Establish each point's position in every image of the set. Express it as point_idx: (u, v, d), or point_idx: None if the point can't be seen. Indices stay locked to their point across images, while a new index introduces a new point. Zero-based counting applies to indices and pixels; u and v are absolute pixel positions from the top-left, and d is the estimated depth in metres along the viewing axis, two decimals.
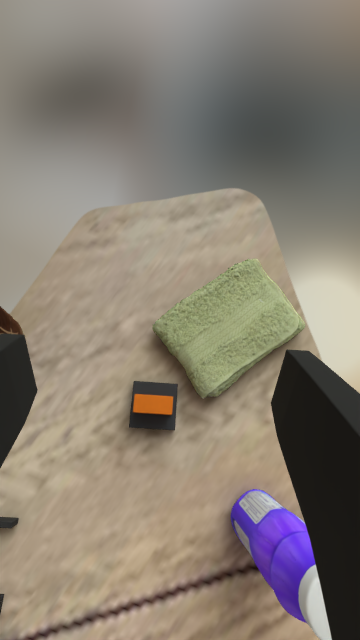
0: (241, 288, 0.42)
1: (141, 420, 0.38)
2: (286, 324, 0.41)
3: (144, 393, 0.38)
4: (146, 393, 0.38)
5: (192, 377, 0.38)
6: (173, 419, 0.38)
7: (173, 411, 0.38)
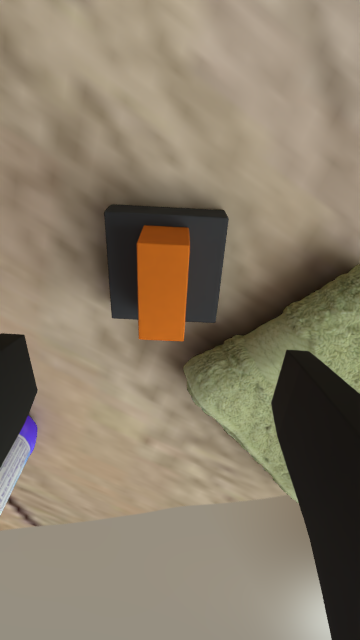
0: None
1: (123, 243, 0.14)
2: None
3: (194, 248, 0.14)
4: (194, 253, 0.15)
5: (230, 361, 0.17)
6: (134, 316, 0.16)
7: None
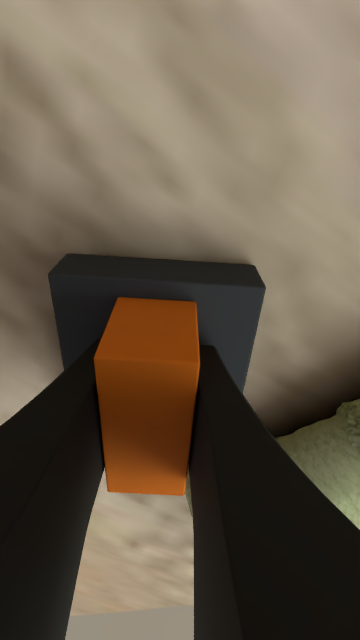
0: None
1: (85, 323, 0.08)
2: None
3: (204, 332, 0.09)
4: (204, 339, 0.09)
5: None
6: None
7: None
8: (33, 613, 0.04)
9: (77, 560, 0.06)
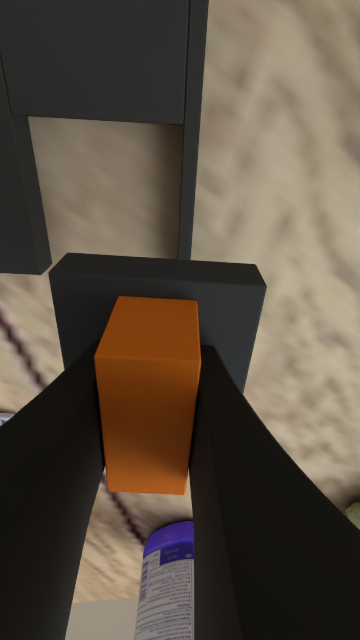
0: None
1: (85, 322, 0.08)
2: None
3: (205, 331, 0.08)
4: (204, 339, 0.09)
5: None
6: None
7: None
8: (33, 613, 0.04)
9: (77, 560, 0.06)
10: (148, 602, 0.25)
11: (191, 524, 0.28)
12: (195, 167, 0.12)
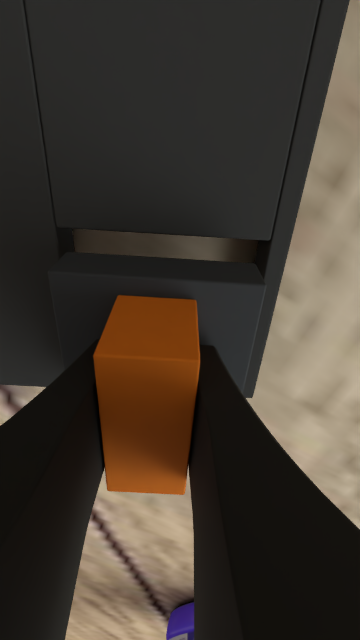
0: None
1: (85, 321, 0.08)
2: None
3: (204, 330, 0.08)
4: (204, 338, 0.09)
5: None
6: None
7: None
8: (33, 613, 0.04)
9: (77, 560, 0.06)
10: None
11: None
12: (278, 285, 0.10)
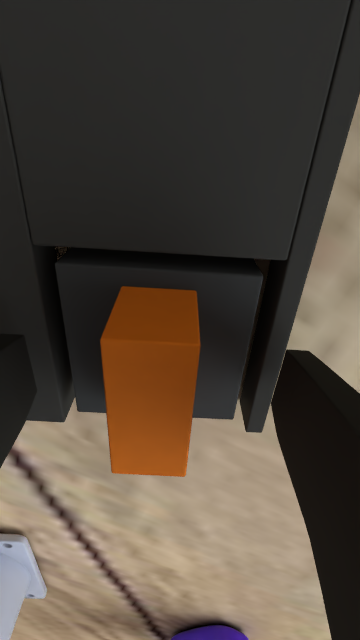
0: None
1: (90, 312, 0.09)
2: None
3: (204, 320, 0.09)
4: (204, 328, 0.09)
5: None
6: None
7: None
8: None
9: None
10: None
11: (223, 631, 0.24)
12: (295, 311, 0.09)
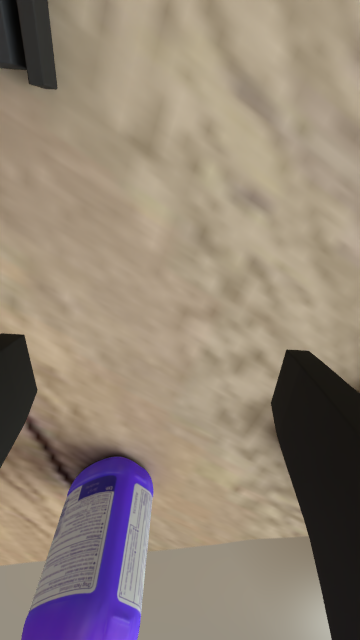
0: None
1: None
2: None
3: None
4: None
5: None
6: None
7: None
8: None
9: None
10: (59, 538, 0.22)
11: (119, 459, 0.25)
12: None
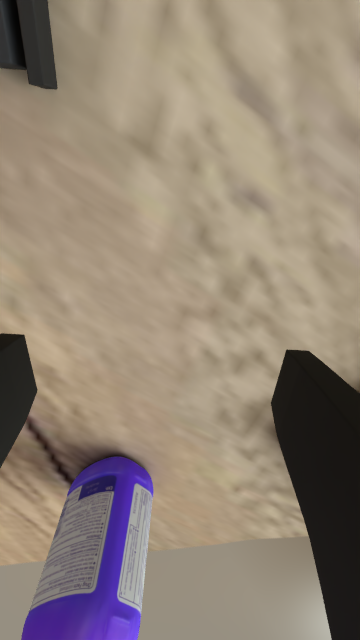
0: None
1: None
2: None
3: None
4: None
5: None
6: None
7: None
8: None
9: None
10: (59, 538, 0.22)
11: (119, 459, 0.25)
12: None
